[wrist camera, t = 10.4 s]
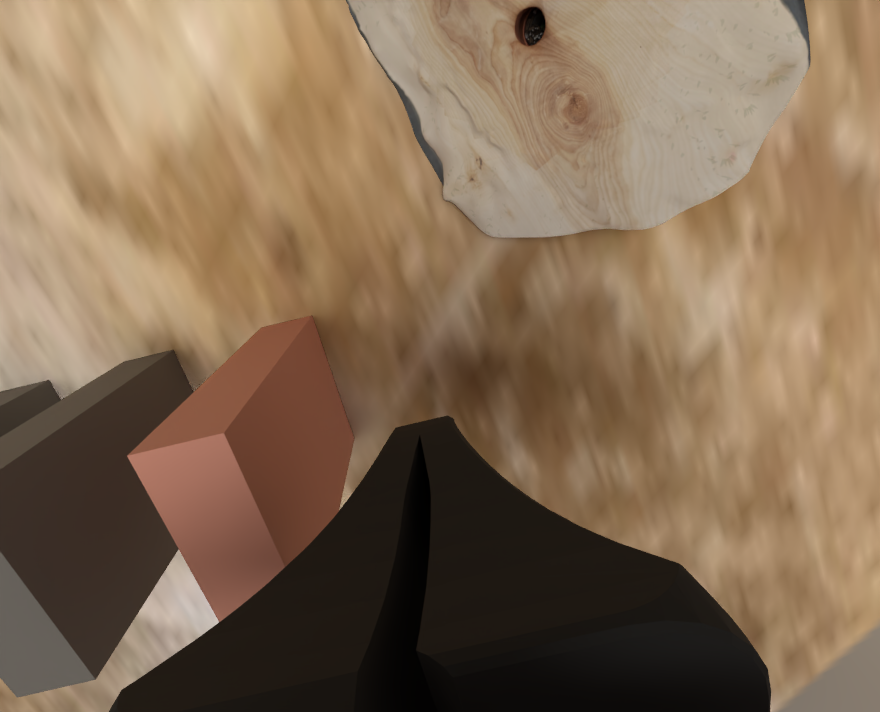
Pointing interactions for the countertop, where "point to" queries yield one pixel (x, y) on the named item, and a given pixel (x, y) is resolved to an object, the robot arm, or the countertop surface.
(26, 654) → the domino
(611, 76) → the wooden slab
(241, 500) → the loose domino
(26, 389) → the domino
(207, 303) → the countertop surface
